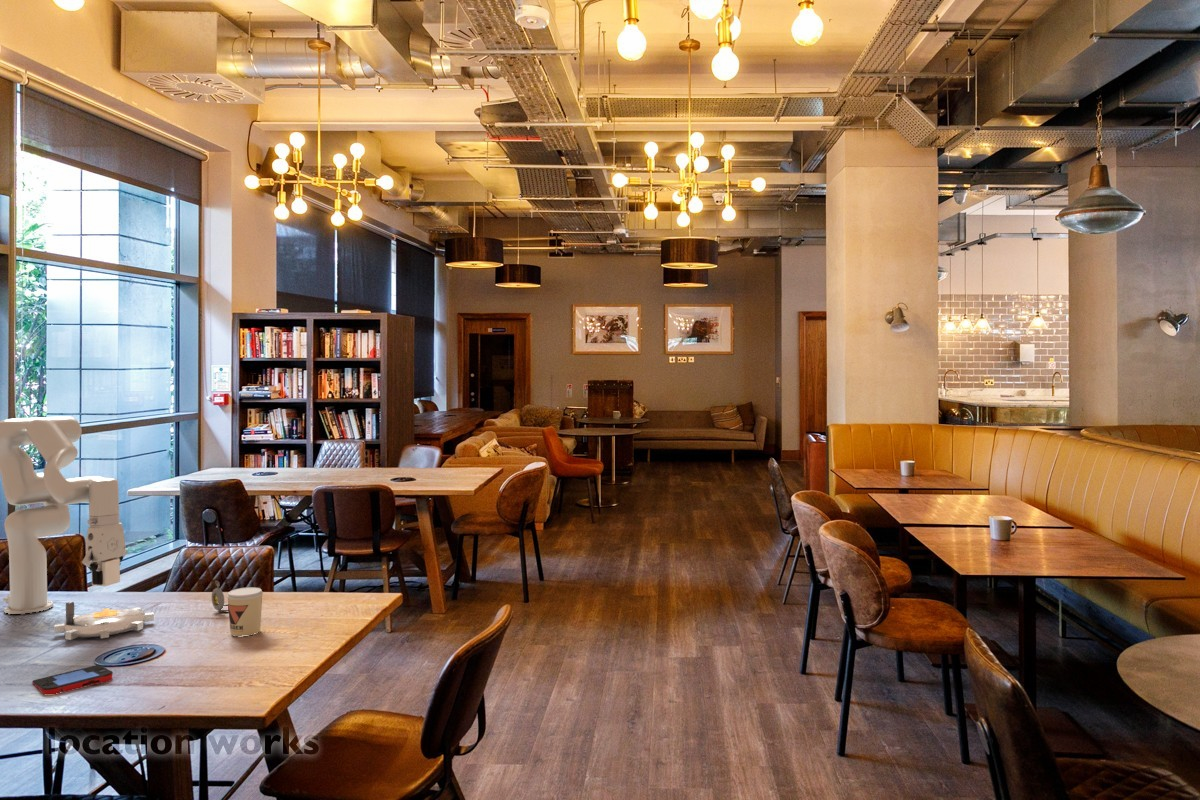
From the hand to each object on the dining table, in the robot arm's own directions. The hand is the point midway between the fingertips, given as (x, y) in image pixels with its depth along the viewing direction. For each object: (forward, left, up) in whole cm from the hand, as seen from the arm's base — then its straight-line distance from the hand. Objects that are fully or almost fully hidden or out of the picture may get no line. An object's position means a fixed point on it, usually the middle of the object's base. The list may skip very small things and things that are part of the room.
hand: (105, 581), depth 240 cm
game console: (+30, -38, -14) cm, 50 cm away
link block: (0, 0, -1) cm, 1 cm away
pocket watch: (+24, +21, -13) cm, 34 cm away
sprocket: (+4, -4, -13) cm, 14 cm away
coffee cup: (+45, +4, -13) cm, 47 cm away
